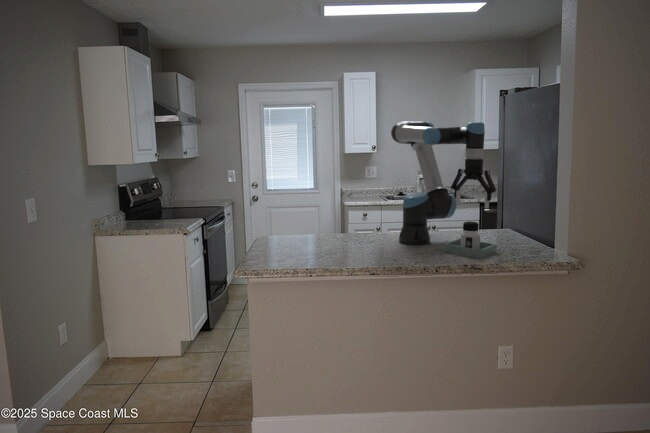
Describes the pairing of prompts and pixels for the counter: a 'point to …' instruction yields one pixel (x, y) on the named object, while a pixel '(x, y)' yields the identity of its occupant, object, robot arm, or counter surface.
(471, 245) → the container
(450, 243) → the box
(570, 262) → the counter surface
